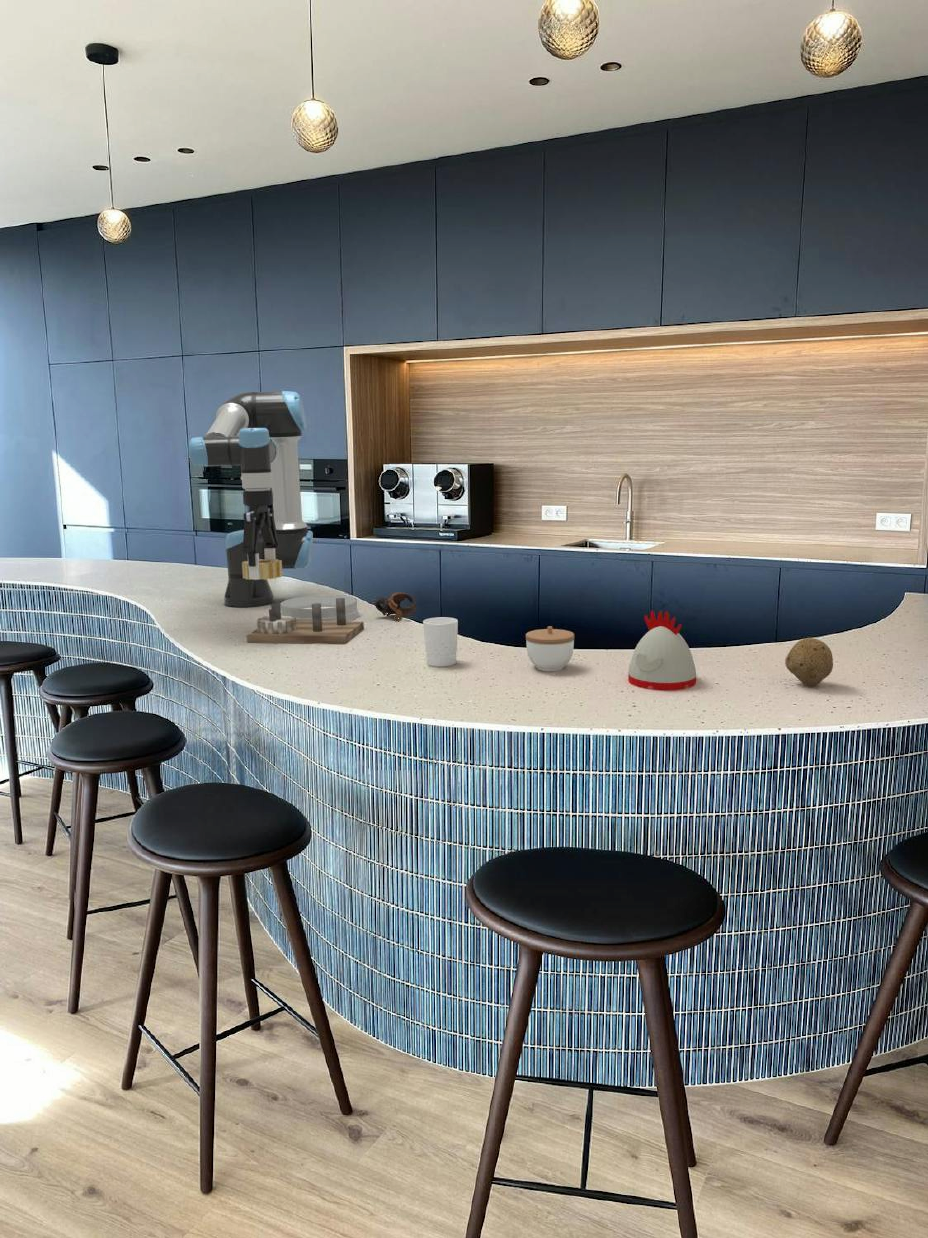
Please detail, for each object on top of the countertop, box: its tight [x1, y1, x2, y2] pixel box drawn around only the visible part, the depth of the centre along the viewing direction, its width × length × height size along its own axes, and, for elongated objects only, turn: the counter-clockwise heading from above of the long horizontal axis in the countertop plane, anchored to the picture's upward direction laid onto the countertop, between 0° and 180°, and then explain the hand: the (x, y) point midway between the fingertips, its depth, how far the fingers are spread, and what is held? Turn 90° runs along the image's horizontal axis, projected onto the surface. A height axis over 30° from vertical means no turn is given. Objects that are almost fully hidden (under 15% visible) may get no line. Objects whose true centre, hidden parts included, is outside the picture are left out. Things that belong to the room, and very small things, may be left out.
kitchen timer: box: [627, 610, 697, 691], centre depth 191 cm, size 14×14×15 cm
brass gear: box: [242, 559, 283, 580], centre depth 239 cm, size 10×10×4 cm
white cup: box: [422, 616, 459, 668], centre depth 210 cm, size 8×8×10 cm
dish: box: [280, 594, 359, 621], centre depth 265 cm, size 22×22×5 cm
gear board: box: [246, 598, 365, 645], centre depth 242 cm, size 18×26×9 cm
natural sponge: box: [784, 637, 834, 688], centre depth 186 cm, size 9×9×10 cm
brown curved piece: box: [374, 592, 418, 622], centre depth 262 cm, size 12×10×8 cm
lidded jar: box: [525, 625, 575, 672], centre depth 204 cm, size 11×11×9 cm
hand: (263, 575), depth 239 cm, fingers closed on brass gear, 10 cm apart
